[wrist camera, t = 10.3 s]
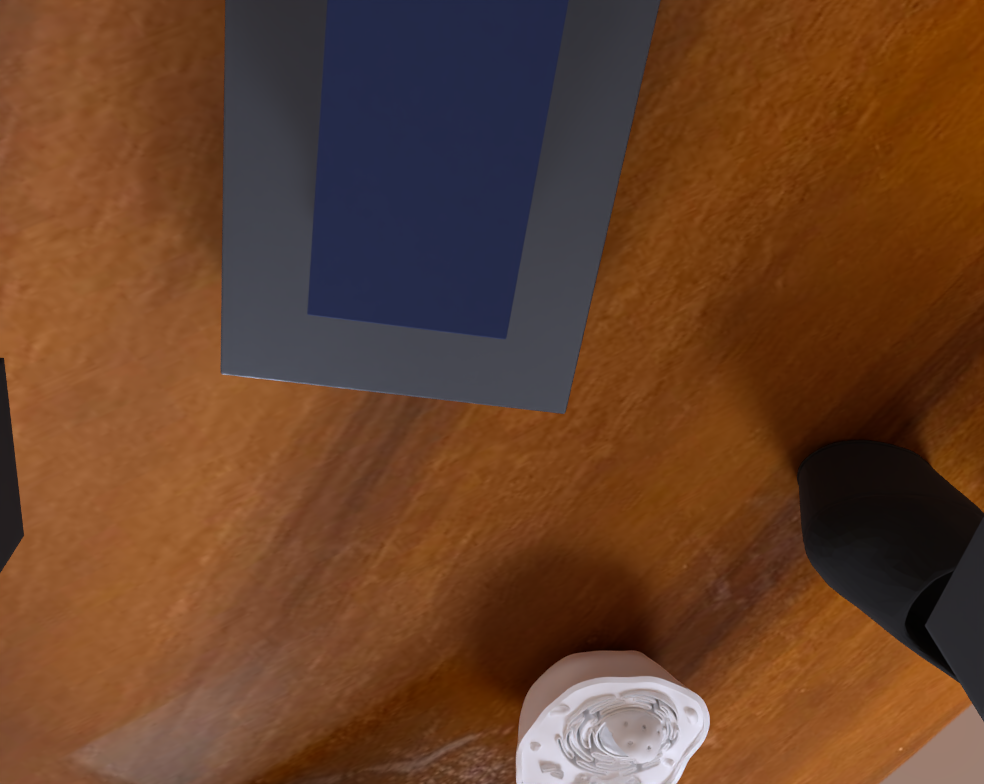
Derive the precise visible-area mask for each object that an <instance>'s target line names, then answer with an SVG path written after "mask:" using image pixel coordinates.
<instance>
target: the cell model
mask: <svg viewBox="0 0 984 784" xmlns="http://www.w3.org/2000/svg"><path fill="white" fill-rule="evenodd" d="M709 725H710V718H709V712H708V709H707V706H706V704H705V702H704V701H703V699H702V698H701V697H700V696H698V695H697V694H696V693H694V692H693V691H691V690H690V689H688V688H687V687H686V686H684V685H683V684H682V683H680V682H679V681H678V680H677V679H675V678H674V677H673V676H672V675H671V674H670V673H669V672H667V671H666V670H665V669H664V668H663V667H661V666H660V665H659V664H657V663H656V662H654V661H653V660H651V659H650V658H648V657H647V656H646V655H645V654H643V653H641V652H639V651H635V650H628V651H590V652H582V653H575V654H571V655H568V656H566V657H564V658H562V659H561V660H559V661H558V662H556V663H555V664H554V665H552V666H551V667H550V668H549V669H548V670H547V671H546V672H545V673H543V674H542V675H541V676H540V677H539V678H538V679H537V681H536V682H535V683H534V684H533V685H532V687H531V688H530V689H529V691H528V693H527V695H526V697H525V700H524V703H523V706H522V710H521V714H520V720H519V729H518V744H517V749H516V783H517V784H676V783H677V782H678V780H679V779H680V777H681V775H682V773H683V771H684V769H685V767H686V764H687V762H688V761H689V759H690V758H691V756H692V755H693V754H694V753H695V752H696V751H697V750H698V748H699V747H700V746H701V745H702V743H703V742H704V740H705V738H706V736H707V733H708V730H709Z"/></svg>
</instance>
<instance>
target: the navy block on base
mask: <svg viewBox="0 0 984 784" xmlns="http://www.w3.org/2000/svg"><path fill="white" fill-rule="evenodd" d="M568 2H569V0H327V11H326V27H325V42H324V58H323V74H322V89H321V105H320V120H319V136H318V152H317V167H316V183H315V199H314V214H313V230H312V245H311V261H310V277H309V292H308V308H307V314H308V315H312V316H320V317H328V318H336V319H344V320H352V321H360V322H368V323H376V324H384V325H392V326H400V327H408V328H416V329H424V330H432V331H440V332H448V333H456V334H464V335H472V336H480V337H488V338H497V339H506V338H507V332H508V327H509V321H510V316H511V311H512V305H513V300H514V294H515V289H516V284H517V278H518V273H519V267H520V262H521V256H522V251H523V246H524V240H525V235H526V229H527V224H528V219H529V213H530V208H531V202H532V197H533V192H534V186H535V181H536V175H537V170H538V164H539V159H540V154H541V148H542V143H543V137H544V132H545V127H546V121H547V116H548V110H549V105H550V100H551V94H552V89H553V83H554V78H555V72H556V67H557V62H558V56H559V51H560V45H561V40H562V35H563V29H564V24H565V18H566V13H567V8H568Z"/></svg>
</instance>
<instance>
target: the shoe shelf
mask: <svg viewBox="0 0 984 784" xmlns="http://www.w3.org/2000/svg"><path fill="white" fill-rule="evenodd" d="M659 4H660V0H569V2H568V8H567V13H566V18H565V24H564V29H563V35H562V40H561V45H560V51H559V56H558V62H557V67H556V72H555V78H554V83H553V89H552V94H551V100H550V105H549V110H548V116H547V121H546V127H545V132H544V137H543V143H542V148H541V154H540V159H539V164H538V170H537V175H536V181H535V186H534V192H533V197H532V202H531V208H530V213H529V219H528V224H527V229H526V235H525V240H524V246H523V251H522V256H521V262H520V267H519V273H518V278H517V284H516V289H515V294H514V300H513V305H512V311H511V316H510V321H509V327H508V332H507V338H506V339H497V338H488V337H480V336H472V335H464V334H456V333H448V332H440V331H432V330H424V329H416V328H408V327H400V326H392V325H384V324H376V323H368V322H360V321H352V320H344V319H336V318H328V317H320V316H312V315H308V314H307V308H308V292H309V277H310V261H311V245H312V230H313V214H314V199H315V183H316V167H317V152H318V136H319V120H320V105H321V89H322V74H323V58H324V42H325V27H326V11H327V0H225V71H224V150H223V228H222V307H221V374H224V375H233V376H242V377H250V378H259V379H267V380H276V381H285V382H293V383H302V384H311V385H319V386H328V387H337V388H345V389H354V390H363V391H371V392H380V393H388V394H397V395H406V396H414V397H423V398H432V399H440V400H449V401H458V402H466V403H475V404H484V405H492V406H501V407H509V408H518V409H527V410H535V411H544V412H553V413H561V414H564V413H565V412H566V409H567V404H568V400H569V396H570V391H571V387H572V382H573V378H574V374H575V369H576V365H577V361H578V356H579V352H580V348H581V343H582V339H583V335H584V330H585V326H586V322H587V317H588V313H589V309H590V304H591V300H592V296H593V291H594V287H595V283H596V278H597V274H598V270H599V265H600V261H601V256H602V252H603V248H604V243H605V239H606V235H607V230H608V226H609V222H610V217H611V213H612V209H613V204H614V200H615V196H616V191H617V187H618V183H619V178H620V174H621V170H622V165H623V161H624V157H625V152H626V148H627V143H628V139H629V135H630V130H631V126H632V122H633V117H634V113H635V109H636V104H637V100H638V96H639V91H640V87H641V83H642V78H643V74H644V70H645V65H646V61H647V57H648V52H649V48H650V44H651V39H652V35H653V31H654V26H655V22H656V17H657V13H658V9H659Z"/></svg>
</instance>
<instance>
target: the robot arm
mask: <svg viewBox="0 0 984 784" xmlns="http://www.w3.org/2000/svg"><path fill="white" fill-rule="evenodd" d="M23 536H24V532H23V523H22V514H21V505H20V496H19V487H18V479H17V470H16V461H15V452H14V443H13V434H12V425H11V417H10V408H9V399H8V390H7V381H6V372H5V364H4V358H0V572H1V571H2V569H3V568H4V566H5V565H6V563H7V561H8V560H9V558H10V557H11V555H12V554H13V552H14V550H15V549H16V547H17V546H18V544H19V543H20V541H21V539H22V538H23ZM925 627H926V629H927V630H928V632H929V633H930V635H931V637H932V638H933V640H934V642H935V643H936V645H937V646H938V648H939V650H940V651H941V653H942V655H943V656H944V658H945V659H946V661H947V663H948V664H949V666H950V668H951V669H952V671H953V672H954V674H955V676H956V677H957V679H958V681H959V682H960V684H961V685H962V687H963V689H964V690H965V692H966V694H967V695H968V697H969V698H970V700H971V702H972V703H973V705H974V706H975V708H976V710H977V711H978V713H979V715H980V716H981V718H982V720H983V721H984V517H983V519H982V521H981V522H980V524H979V526H978V528H977V530H976V532H975V534H974V535H973V537H972V539H971V541H970V543H969V545H968V547H967V548H966V550H965V552H964V554H963V556H962V558H961V560H960V561H959V563H958V565H957V567H956V569H955V571H954V573H953V574H952V576H951V578H950V580H949V582H948V584H947V585H946V587H945V589H944V591H943V593H942V595H941V597H940V598H939V600H938V602H937V604H936V606H935V608H934V610H933V611H932V613H931V615H930V617H929V619H928V621H927V623H926V624H925Z"/></svg>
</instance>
